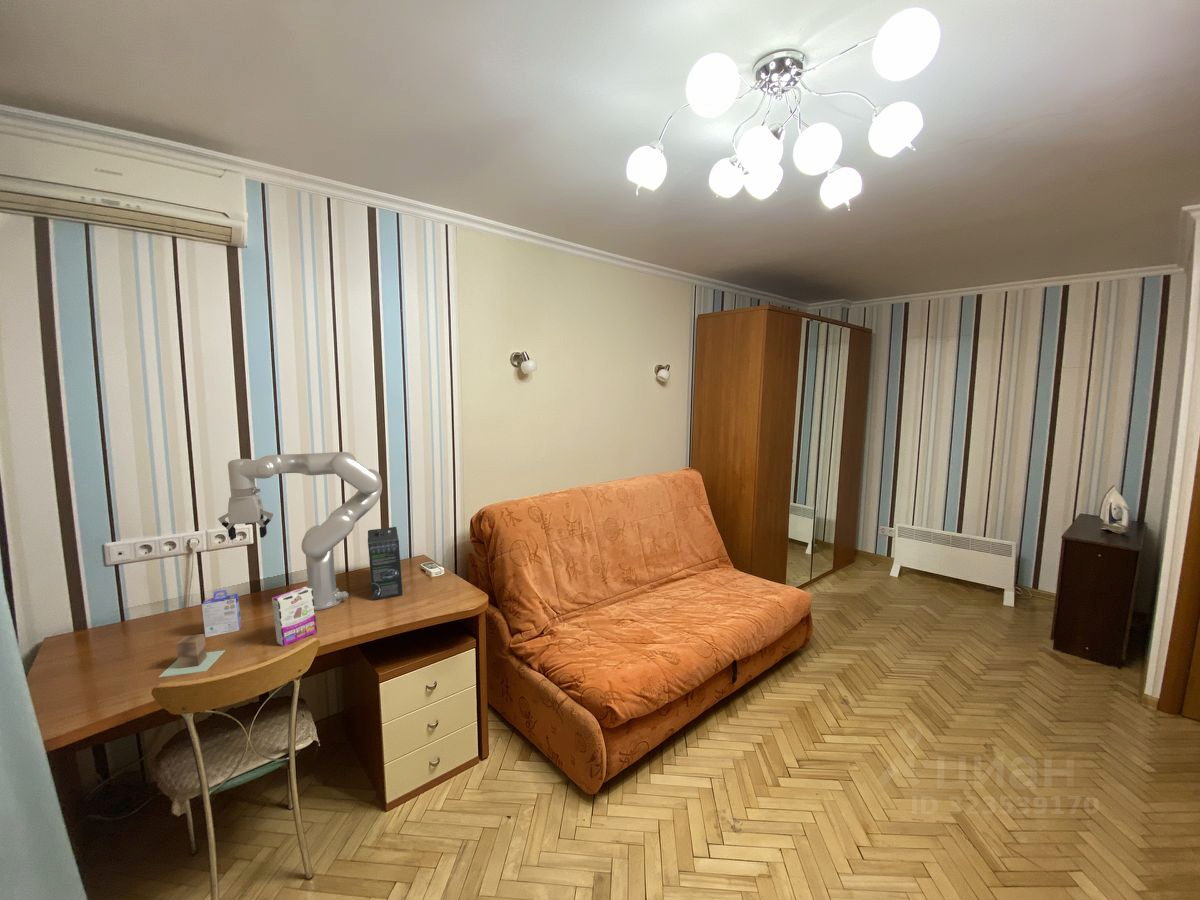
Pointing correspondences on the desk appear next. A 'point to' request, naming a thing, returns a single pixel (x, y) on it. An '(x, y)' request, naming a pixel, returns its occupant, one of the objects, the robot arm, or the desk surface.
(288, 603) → the candy bar box
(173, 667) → the green mat
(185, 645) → the walnut block
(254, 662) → the desk surface
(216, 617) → the ink cartridge box
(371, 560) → the headset box
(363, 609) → the desk surface
